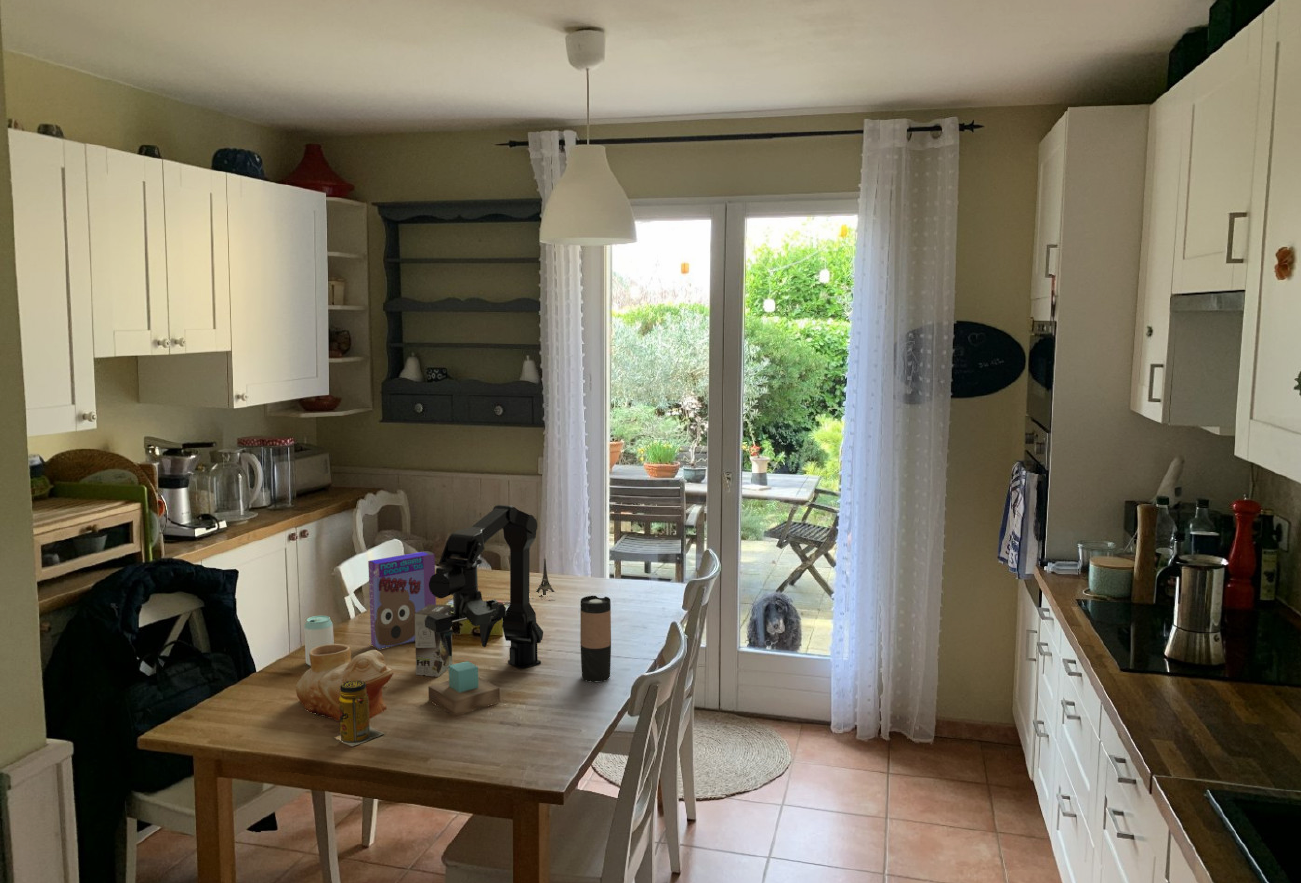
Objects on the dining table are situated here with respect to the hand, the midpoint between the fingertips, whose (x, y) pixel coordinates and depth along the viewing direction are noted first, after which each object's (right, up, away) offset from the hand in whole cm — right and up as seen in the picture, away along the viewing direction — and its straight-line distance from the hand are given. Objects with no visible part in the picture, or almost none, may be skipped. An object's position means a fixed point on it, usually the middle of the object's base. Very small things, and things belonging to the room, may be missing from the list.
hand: (467, 651), depth 231 cm
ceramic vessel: (-27, -13, -5) cm, 30 cm away
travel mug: (+29, -10, +16) cm, 35 cm away
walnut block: (-1, -12, 0) cm, 12 cm away
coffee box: (-12, -9, +20) cm, 26 cm away
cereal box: (-26, -7, +43) cm, 51 cm away
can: (-43, -9, +25) cm, 51 cm away
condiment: (-20, -15, -19) cm, 31 cm away
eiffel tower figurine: (+8, -1, +90) cm, 90 cm away
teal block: (-1, -8, 0) cm, 8 cm away
